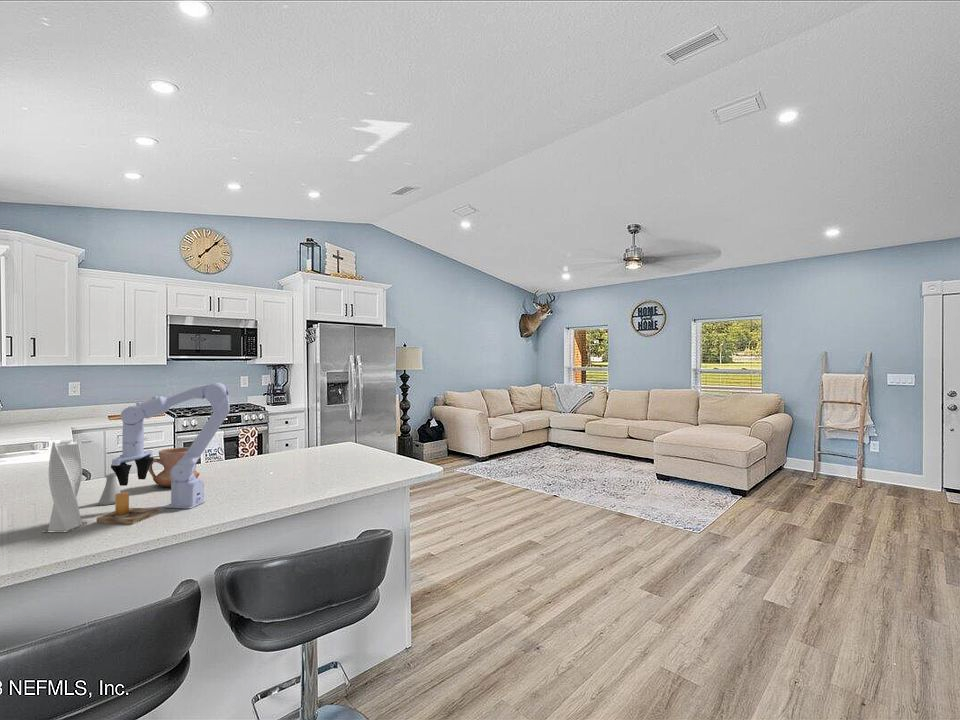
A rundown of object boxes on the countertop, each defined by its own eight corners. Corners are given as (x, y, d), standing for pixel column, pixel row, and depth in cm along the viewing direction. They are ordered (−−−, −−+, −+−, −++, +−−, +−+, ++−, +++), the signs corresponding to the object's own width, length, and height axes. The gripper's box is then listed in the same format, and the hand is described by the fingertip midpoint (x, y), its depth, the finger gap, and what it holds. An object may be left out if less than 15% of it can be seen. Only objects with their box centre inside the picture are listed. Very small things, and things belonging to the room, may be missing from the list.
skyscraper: (91, 523, 141) (92, 433, 141) (69, 533, 133) (69, 437, 133) (63, 523, 141) (64, 432, 141) (39, 533, 133) (39, 437, 133)
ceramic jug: (203, 478, 195) (203, 444, 195) (199, 487, 182) (199, 451, 182) (151, 482, 187) (151, 448, 187) (143, 492, 174) (144, 455, 174)
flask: (93, 506, 158) (93, 477, 158) (104, 500, 165) (104, 472, 165) (117, 504, 160) (118, 476, 160) (127, 498, 167) (128, 471, 167)
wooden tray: (158, 513, 151) (158, 508, 151) (132, 524, 141) (132, 519, 141) (123, 512, 152) (123, 507, 152) (96, 522, 142) (96, 518, 142)
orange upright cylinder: (131, 517, 147) (131, 492, 147) (121, 521, 144) (122, 495, 144) (122, 516, 148) (122, 492, 148) (112, 520, 144) (112, 495, 144)
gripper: (139, 437, 162) (138, 476, 162) (102, 445, 147) (102, 487, 147) (158, 438, 161) (158, 476, 161) (123, 446, 147) (123, 488, 147)
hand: (132, 482), depth 154 cm, fingers open, 7 cm apart
